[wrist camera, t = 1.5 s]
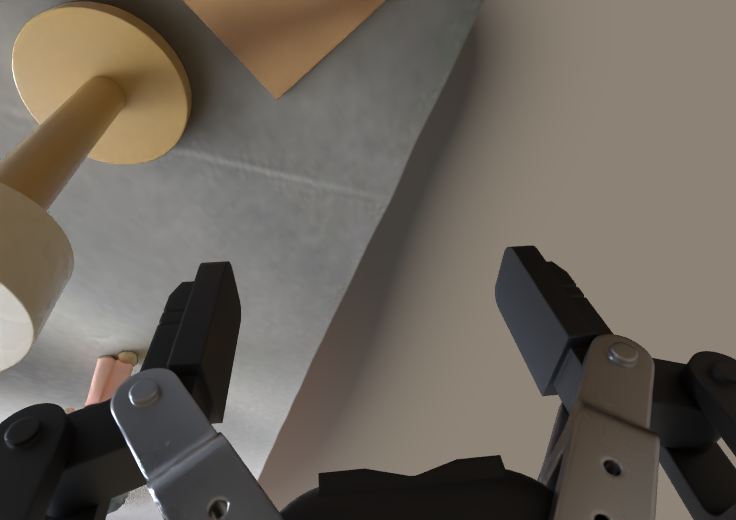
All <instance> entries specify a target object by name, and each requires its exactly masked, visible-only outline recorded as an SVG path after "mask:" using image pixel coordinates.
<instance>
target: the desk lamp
mask: <svg viewBox="0 0 736 520" xmlns="http://www.w3.org/2000/svg"><path fill="white" fill-rule="evenodd" d="M12 70H13V76H14V80H15V83H16V87H17V90H18V92H19V94H20V96H21V99H22V100H23V102H24V104H25V105H26V107H27V109H28V110H29V112H30V113H31V114H32V116H33V117H34V118H35V119H36V121H37V122H38V123H39V124H40V125H39V126H38V127H37V128H36V129H35V130H34V131H33V132H32V133H31V134H30V135H29V136H28V137H27V138H26V139H25V140H24V141H23V142H21V143H20V144H19V145H18V146H17V147H16V148H15V149H14V150H13V151H12V152H11V153H10V154H9V155H8V156H7V157H6V158H5V159H3V160H2V161H1V162H0V371H3V370H6V369H8V368H9V367H11V366H13V365H15V364H16V363H18V362H19V361H21V360H22V359H23V358H24V357H25V356H26V355H27V354H28V353H29V351H30V350H31V348H32V346H33V344H34V343H35V341H36V339H37V337H38V335H39V333H40V332H41V330H42V328H43V326H44V324H45V322H46V321H47V319H48V317H49V315H50V313H51V312H52V310H53V308H54V306H55V304H56V302H57V301H58V299H59V297H60V295H61V293H62V291H63V290H64V288H65V286H66V284H67V282H68V281H69V279H70V277H71V274H72V271H73V266H74V257H73V251H72V248H71V244H70V242H69V240H68V238H67V236H66V234H65V233H64V231H63V230H62V228H61V227H60V226H59V224H58V223H57V222H56V221H55V220H54V219H53V218H52V217H51V216H50V215H49V214H48V213H47V212H46V211H47V209H48V208H49V207H50V205H51V204H52V203H53V201H54V200H55V199H56V197H57V196H58V195H59V193H60V192H61V190H62V189H63V188H64V186H65V185H66V184H67V182H68V181H69V180H70V178H71V177H72V176H73V174H74V173H75V172H76V170H77V169H78V168H79V166H80V165H81V164H82V162H83V161H84V160H85V158H86V157H89V158H92V159H95V160H98V161H102V162H106V163H112V164H121V165H133V164H140V163H145V162H149V161H152V160H154V159H157V158H159V157H161V156H163V155H164V154H166V153H167V152H168V151H170V150H171V149H172V148H173V147H174V146H175V145H176V144H177V142H178V141H179V139H180V138H181V136H182V134H183V132H184V130H185V127H186V125H187V122H188V120H189V116H190V112H191V104H192V97H191V88H190V83H189V80H188V77H187V74H186V71H185V69H184V67H183V65H182V63H181V61H180V59H179V58H178V56H177V54H176V53H175V51H174V50H173V49H172V48H171V46H170V45H169V44H168V43H167V41H166V40H165V39H164V38H163V37H162V36H161V35H160V34H159V33H158V32H157V31H155V30H154V29H153V28H152V27H151V26H149V25H148V24H147V23H145V22H144V21H142V20H141V19H139V18H138V17H136V16H134V15H132V14H131V13H129V12H127V11H124V10H122V9H120V8H117V7H114V6H111V5H107V4H104V3H98V2H91V1H76V2H68V3H64V4H61V5H58V6H56V7H53V8H51V9H49V10H47V11H45V12H43V13H40V14H38V15H37V16H35V17H34V18H33V19H31V20H30V21H29V22H28V23H27V24H26V25H25V26H24V27H23V28H22V30H21V31H20V33H19V35H18V36H17V39H16V41H15V44H14V48H13V54H12Z"/></svg>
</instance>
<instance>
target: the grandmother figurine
mask: <svg viewBox="0 0 736 520" xmlns="http://www.w3.org/2000/svg"><path fill="white" fill-rule="evenodd" d="M136 365H137V356H136V354H135V353H133V352H121V353H120V354H119V355H118V360H115V359H114V358H113V357H110V356H102V357H99V358H98V359H97V366H96V369H95V372H94V376H93V380H92V384H91V388H90V391H89V395H88V399H87V401H86V403H85V405H84V408H86V407H89V406H92V405H95V404H98V403H101V402H103V401H106V400H108V399H110V398H112V397H113V395H114V393H115V391H116V390H117V389H118V387H119V386H120V385H121V384H122V383H123V382H124V381H126V380H127V379H128V378H130V376H131V373H132V371H133V367H134V366H136ZM64 411H65V412H66V414H68V413H71V412H74V411H75V410H74V409H73V408H67V409H65V410H64Z"/></svg>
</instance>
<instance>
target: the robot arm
mask: <svg viewBox="0 0 736 520" xmlns="http://www.w3.org/2000/svg"><path fill="white" fill-rule="evenodd" d="M495 297H496V302H497V306H498V308H499V310H500V312H501V314H502V316H503V318H504V320H505V322H506V324H507V326H508V328H509V330H510V332H511V334H512V336H513V338H514V340H515V342H516V344H517V346H518V348H519V350H520V352H521V354H522V356H523V358H524V360H525V362H526V364H527V366H528V368H529V370H530V372H531V374H532V376H533V378H534V380H535V382H536V384H537V387H538V389H539V391H540V392H541V394H542V396H548V395H559V397H560V399H561V401H562V403H561V405H560V407H559V410H558V413H557V417H556V421H555V424H554V428H553V431H552V435H551V439H550V442H549V445H548V449H547V453H546V456H545V460H544V463H543V466H542V469H541V472H540V474H539V476H538V479H537V481H536V480H535V479H533V478H530V477H528V476H526V475H523V474H521V473H517V472H514V471H511V470H506V469H505V468H504V465H503V462H502V459H501V456H500V455H496V456H487V457H476V458H467V459H457V460H454V461H452V462H449V463H447V464H444V465H442V466H439V467H437V468H434V469H432V470H429V471H427V472H424V473H422V474H419V475H416V476H406V475H400V474H394V473H388V472H381V471H375V470H370V469H356V470H348V471H347V470H346V471H337V472H326V473H319V487H318V488H315V489H313V490H310V491H308V492H306V493H305V494H303V495H301V496H299V497H298V498H296V499H295V500H293V501H292V502H291V503H289V504H288V505H287V506H286V507H285V508H284V509H283V510H282V511H280V512H279V511H278V510H277V508H276V507H275V506H274V504H273V503H272V501H271V500H270V499H269V497H268V496H267V494H266V493H265V492H264V490H263V489H262V488H261V486H260V485H259V483H258V482H257V480H256V479H255V478H254V476H253V475H252V473H251V472H250V471H249V469H248V468H247V466H246V465H245V464H244V462H243V461H242V459H241V458H240V457H239V455H238V454H237V452H236V451H235V450H234V448H233V447H232V445H231V444H230V443H229V441H228V440H227V439H226V437H225V436H224V435H223V434H222V433H221V432H219V433H217V432H216V430H215V429H214V428H213V426H212V425H211V424H214V423H222V422H223V417H224V411H225V406H226V400H227V395H228V389H229V384H230V378H231V372H232V367H233V361H234V356H235V350H236V345H237V339H238V334H239V328H240V323H241V305H240V299H239V295H238V291H237V287H236V282H235V278H234V274H233V270H232V266H231V264H230V262H229V261H227V262H209V263H201V264H200V266H199V269H198V272H197V275H196V278H195V281H193V282H182V283H181V284H180V285H179V286H178V287H177V288H176V289H175V290H174V291H173V292H172V293H171V294H170V296H169V298H168V301H167V303H166V306H165V309H164V313H163V314H162V316H161V319H160V321H159V323H160V324H159V325H158V327H157V329H156V332H155V334H154V337H153V339H152V342H151V345H150V347H149V350H148V352H147V355H146V357H145V360H144V362H143V365H142V368H141V370H140V372H139V373H137V374H135V375H133V376H131V377H130V378H128V379H127V380H126V381H124V382H123V383H122V384H121V385H120V386H119V387H118V389H117V390H116V391H115V393H114V395H113V397H112V398H110V399H108V400H106V401H103V402H101V403H98V404H95V405H92V406H89V407H86V408H83V409H80V410H77V411H74V412H71V413H68V414H66V412H65V411H64V410H63V409H62V408H61V407H60V406H58V405H56V404H51V403H42V404H36V405H33V406H29V407H27V408H24V409H22V410H20V411H18V412H16V413H14V414H13V415H11V416H10V417H8V418H7V419H5V420H4V421H3V422H2V423H1V424H0V520H105V519H106V515H107V512H108V509H109V505H110V502H111V499H112V498H114V497H117V496H119V495H122V494H124V493H126V492H129V491H131V490H134V489H136V488H139V487H141V486H143V485H146V484H147V486H148V489H149V491H150V493H151V495H152V497H153V499H154V501H155V503H156V505H157V507H158V509H159V511H160V513H161V514H162V516H163V518H164V520H655V514H656V499H657V483H658V467H659V462H660V464H661V466H662V467H663V469H664V470H665V472H666V474H667V476H668V477H669V479H670V480H671V482H672V484H673V486H674V487H675V489H676V491H677V493H678V494H679V496H680V498H681V499H682V501H683V503H684V504H685V506H686V508H687V509H688V511H689V513H690V514H691V516H692V518H693V519H694V520H736V468H735V467H734V466H733V464H732V463H731V462H730V460H729V459H728V457H727V456H726V455H725V453H724V452H723V451H722V449H721V448H720V447H719V445H718V444H717V441H718V440H719V439H720V438H721V437H722V439H723V440H724V441H725V443H726V444H727V446H728V447H729V448H730V449H731V451H732V452H733V454H734V455H735V456H736V360H735V359H733V358H731V357H729V356H726V355H723V354H720V353H716V352H709V351H703V352H698V353H696V354H694V356H692V358H691V359H690V360H689V362H688V363H687V364H682V363H677V362H671V361H665V360H660V359H655V358H652V357H651V356H650V354H649V353H648V352H647V351H646V350H645V349H644V348H643V347H642V346H640V345H639V344H637V343H636V342H634V341H632V340H630V339H628V338H626V337H623V336H619V335H614V334H613V333H612V332H611V330H610V329H609V328H608V327H607V325H606V324H605V322H604V321H603V320H602V318H601V317H600V316H599V314H598V313H597V312H596V310H595V309H594V308H593V306H592V305H591V304H590V302H589V301H588V300H587V298H584V294H583V293H582V292H581V290H580V289H579V288H578V287H576V284H575V282H574V281H573V280H572V278H571V277H570V276H569V274H568V273H567V272H566V271H565V270H563V269H562V268H560V267H559V266H557V265H556V264H555V263H553V262H546V261H545V259H544V258H543V256H542V255H541V254H540V252H539V251H538V249H537V248H536V247H535V246H517V247H507V248H506V250H505V252H504V255H503V259H502V263H501V266H500V270H499V274H498V278H497V282H496V286H495Z"/></svg>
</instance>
